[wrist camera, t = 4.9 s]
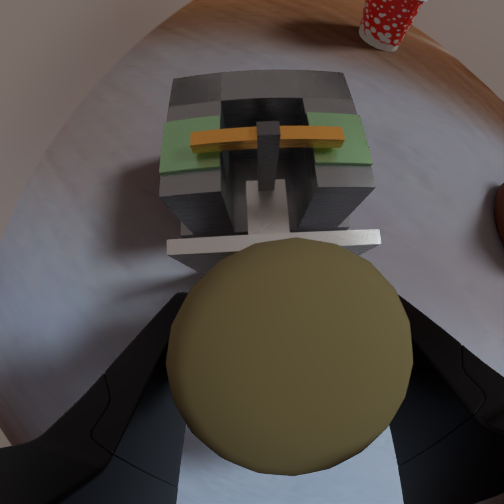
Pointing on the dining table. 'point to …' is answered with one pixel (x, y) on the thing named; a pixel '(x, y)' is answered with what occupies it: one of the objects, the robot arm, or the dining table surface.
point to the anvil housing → (245, 160)
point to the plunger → (264, 194)
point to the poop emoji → (500, 211)
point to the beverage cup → (387, 22)
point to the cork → (290, 356)
